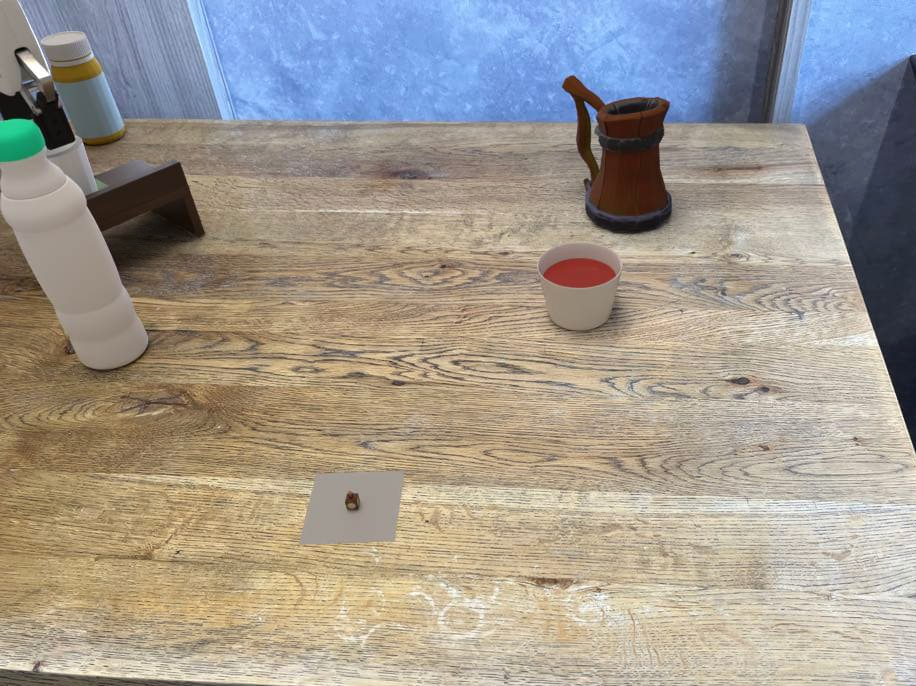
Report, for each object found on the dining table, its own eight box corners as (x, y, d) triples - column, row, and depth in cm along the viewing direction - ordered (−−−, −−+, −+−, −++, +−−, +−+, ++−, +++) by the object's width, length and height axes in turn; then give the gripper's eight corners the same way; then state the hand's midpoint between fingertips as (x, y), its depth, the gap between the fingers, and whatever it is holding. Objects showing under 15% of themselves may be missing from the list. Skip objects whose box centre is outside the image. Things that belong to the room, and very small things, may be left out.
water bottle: (73, 376, 85) (-53, 148, 68) (90, 336, 90) (-23, 114, 73) (143, 368, 85) (36, 139, 69) (156, 328, 91) (59, 106, 74)
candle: (530, 297, 93) (527, 249, 88) (605, 284, 94) (607, 236, 90) (550, 344, 86) (549, 294, 82) (631, 329, 88) (634, 280, 83)
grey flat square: (404, 470, 73) (401, 456, 72) (394, 541, 68) (391, 527, 66) (316, 473, 74) (311, 459, 72) (298, 544, 68) (293, 530, 66)
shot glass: (116, 188, 100) (93, 134, 96) (84, 216, 95) (58, 160, 91) (66, 185, 101) (41, 131, 97) (31, 213, 96) (3, 157, 92)
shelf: (41, 256, 103) (4, 183, 96) (156, 206, 112) (129, 136, 105) (88, 289, 97) (51, 214, 90) (205, 234, 106) (180, 161, 99)
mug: (535, 192, 111) (531, 81, 101) (600, 166, 116) (601, 58, 106) (624, 245, 100) (629, 127, 90) (691, 214, 105) (703, 99, 95)
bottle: (134, 135, 129) (96, 36, 119) (91, 150, 126) (48, 49, 116) (114, 123, 133) (76, 26, 123) (72, 137, 129) (29, 39, 119)
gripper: (-107, -39, 83) (-26, 123, 95) (-35, -6, 75) (44, 167, 87) (-31, -55, 87) (38, 103, 99) (45, -25, 79) (110, 143, 91)
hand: (40, 133), depth 93 cm, fingers open, 9 cm apart
